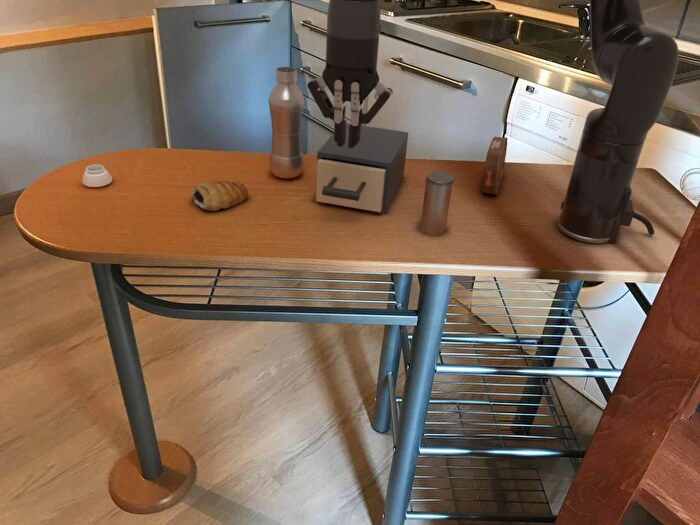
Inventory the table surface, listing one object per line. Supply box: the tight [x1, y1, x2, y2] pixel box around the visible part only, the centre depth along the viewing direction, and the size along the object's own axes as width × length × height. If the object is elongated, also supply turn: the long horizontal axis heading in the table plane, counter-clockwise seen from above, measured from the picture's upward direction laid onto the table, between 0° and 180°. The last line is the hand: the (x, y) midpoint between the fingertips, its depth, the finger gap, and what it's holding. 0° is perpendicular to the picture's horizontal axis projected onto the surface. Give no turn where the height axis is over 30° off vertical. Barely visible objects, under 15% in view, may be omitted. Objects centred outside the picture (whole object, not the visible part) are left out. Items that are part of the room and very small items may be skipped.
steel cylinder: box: [419, 171, 455, 236], centre depth 101 cm, size 4×4×10 cm
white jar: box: [81, 163, 113, 188], centre depth 110 cm, size 5×3×5 cm
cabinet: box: [315, 122, 409, 214], centre depth 113 cm, size 16×13×9 cm
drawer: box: [315, 158, 386, 213], centre depth 108 cm, size 20×12×8 cm, turn 165°
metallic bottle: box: [268, 66, 305, 179], centre depth 113 cm, size 6×7×20 cm
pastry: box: [191, 179, 249, 212], centre depth 107 cm, size 9×7×4 cm
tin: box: [481, 136, 508, 196], centre depth 118 cm, size 15×3×8 cm, turn 161°
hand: (346, 145), depth 98 cm, fingers closed
